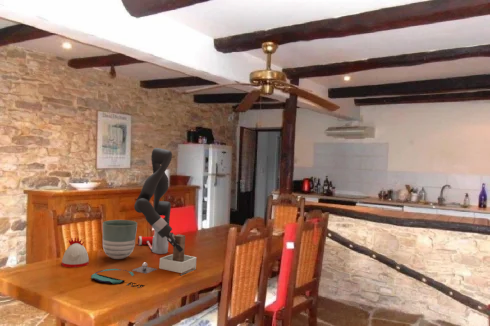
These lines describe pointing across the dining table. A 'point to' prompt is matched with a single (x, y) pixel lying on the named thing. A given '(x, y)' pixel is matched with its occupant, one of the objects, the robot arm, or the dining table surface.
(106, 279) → the cutlery set
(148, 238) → the toy hammer
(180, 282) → the dining table surface
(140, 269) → the stud plate
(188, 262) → the bin
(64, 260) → the kitchen timer
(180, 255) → the strut
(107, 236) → the planter
